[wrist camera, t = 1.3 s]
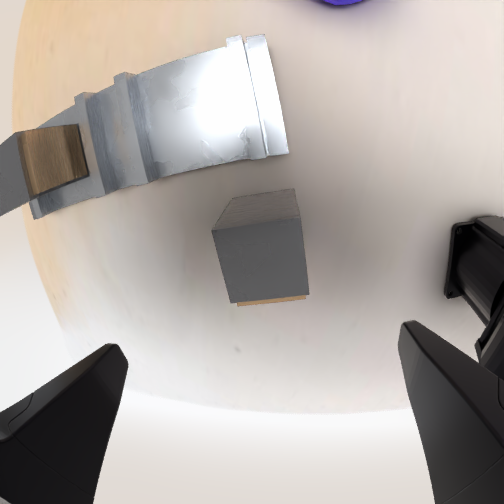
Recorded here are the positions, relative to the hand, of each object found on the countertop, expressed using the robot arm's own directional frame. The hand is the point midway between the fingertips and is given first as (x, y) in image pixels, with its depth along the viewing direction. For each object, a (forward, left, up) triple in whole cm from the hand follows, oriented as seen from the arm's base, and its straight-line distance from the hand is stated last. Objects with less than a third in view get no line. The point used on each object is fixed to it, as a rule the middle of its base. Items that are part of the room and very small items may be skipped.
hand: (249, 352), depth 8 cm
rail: (+8, +8, -12) cm, 16 cm away
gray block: (0, 0, -12) cm, 12 cm away
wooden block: (+8, +13, -10) cm, 19 cm away
